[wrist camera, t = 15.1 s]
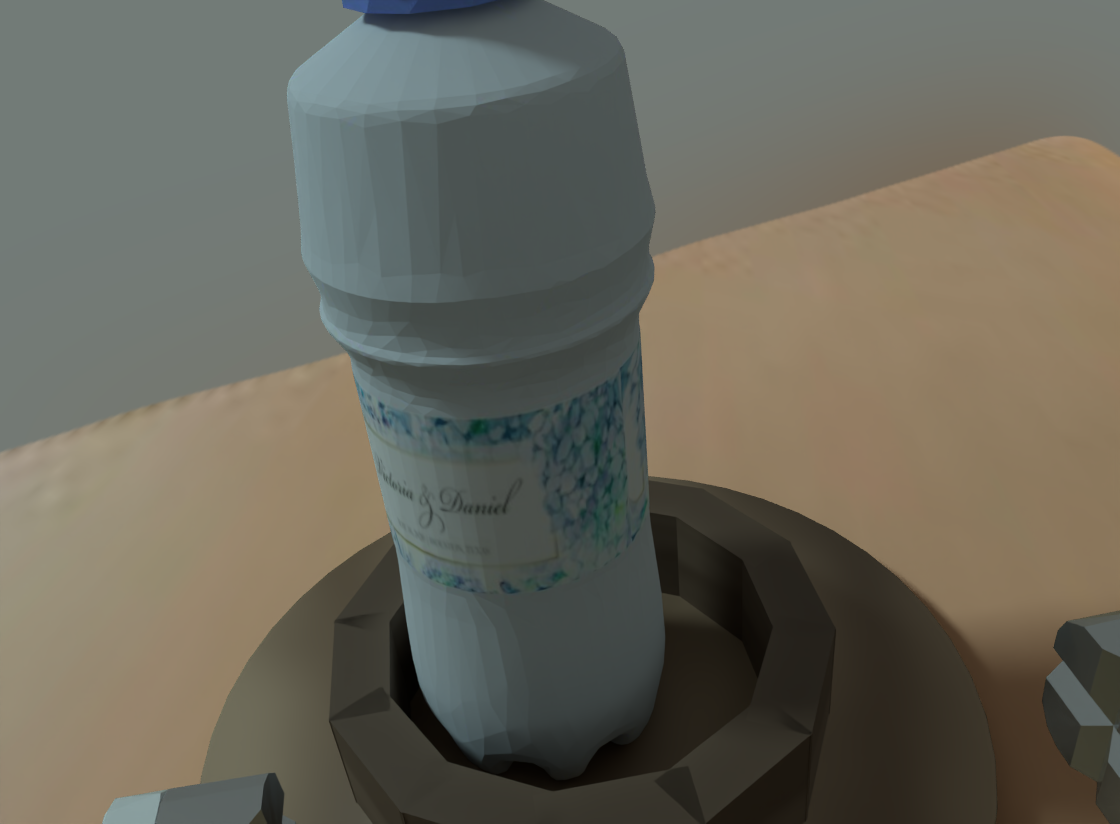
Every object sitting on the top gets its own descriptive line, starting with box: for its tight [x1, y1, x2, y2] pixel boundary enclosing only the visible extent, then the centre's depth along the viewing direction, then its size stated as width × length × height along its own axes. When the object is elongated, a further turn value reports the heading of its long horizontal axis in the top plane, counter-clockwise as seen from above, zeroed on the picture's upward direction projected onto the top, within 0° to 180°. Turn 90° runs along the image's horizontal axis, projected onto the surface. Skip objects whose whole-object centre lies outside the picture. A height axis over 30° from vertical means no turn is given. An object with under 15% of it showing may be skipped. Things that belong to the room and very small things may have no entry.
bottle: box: [287, 0, 665, 780], centre depth 21 cm, size 7×7×20 cm
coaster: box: [200, 476, 997, 824], centre depth 26 cm, size 20×20×4 cm
